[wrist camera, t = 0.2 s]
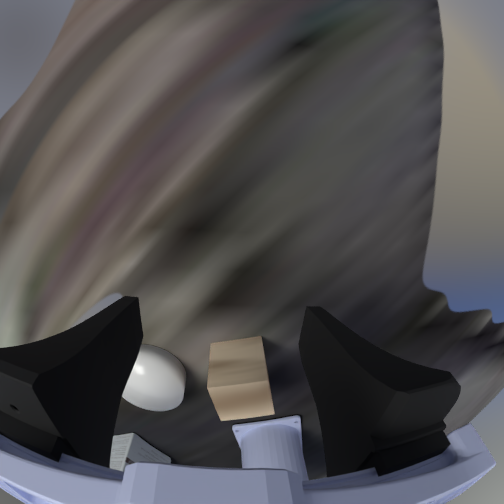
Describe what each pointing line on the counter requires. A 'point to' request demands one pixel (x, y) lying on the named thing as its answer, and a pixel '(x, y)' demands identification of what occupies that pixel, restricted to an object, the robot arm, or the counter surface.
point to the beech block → (239, 379)
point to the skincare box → (133, 452)
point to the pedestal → (155, 380)
